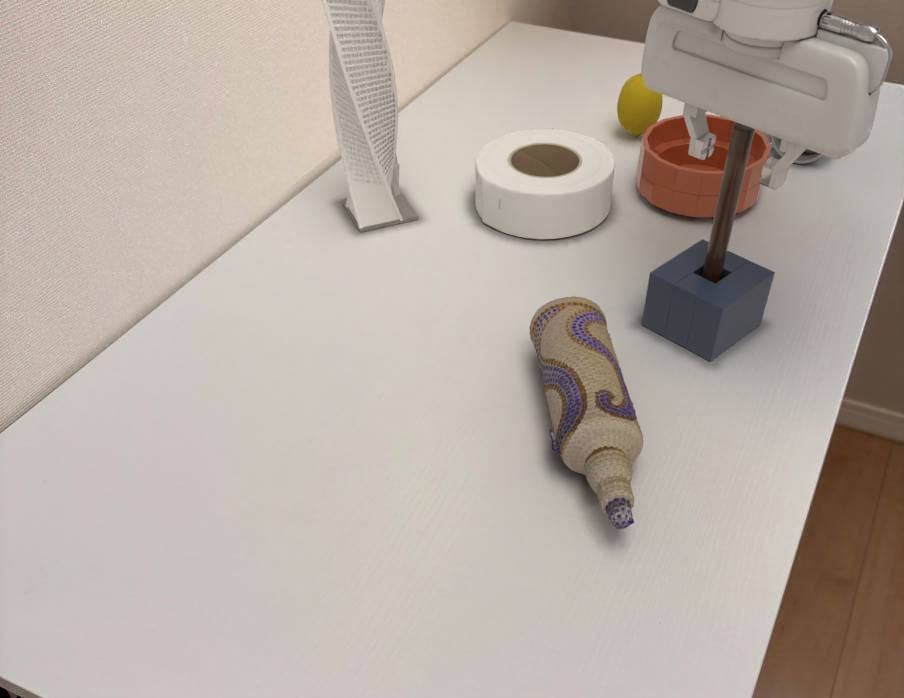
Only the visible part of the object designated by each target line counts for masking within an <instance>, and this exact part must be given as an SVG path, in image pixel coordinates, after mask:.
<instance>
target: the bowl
mask: <svg viewBox="0 0 904 698" xmlns="http://www.w3.org/2000/svg"><path fill="white" fill-rule="evenodd" d="M705 114H706V119H707V124H708V129H709V133H712V134H714V135H716V140H715V143H714V144H713V146H714V150H713V153H712V155H711V156H710V157H708V158H705V160H701V159H698V158H695V157H693V156H691V155H689V154H688V151H689V145H690V139H691V136H690V135H689V132H688V129H687V126H686V122H685V119H684V116H683V114H681V115H675V116H671V117H665V118H662V119H660V120H658V121H657V123H655V124H653V125H651V126H649V127H648V129H647V130H646V132H645V133H643V135H642V136H641V139H640V140H641V141H640V148H639V156H638V162H637V170H636V177H635V181H636V186H637V190H638V193H639V194H640V195H641V196H642V197H643V198H644V199H646V200H647V202H648V203H650V204H651V205H653V206H654V207H655V206H656V207H658V208H659V209H663V210H664V211H667V212H669V213H671V214H677V215H681V216H686V217H691V218H704V219H705V218H706V219H707V218H714V215H715V210H716V206H717V201H718V196H719V191H720V187H721V182H722V177H723V172H724V167H725V163H726V158H727V153H728V148H729V144H730V139H731V134H732V129H733V125H734V124H735V123H737V122H735V121H732V120H729V119H727V118H724V117H721V116H719V115H716V114H707V113H705ZM771 145H772V144H770V143H769V141H768V138H767V137H766V136H765V135H764V134H763V133H761V132H760V131H758V130H756V129H755V131H754V136H753V140H752V144H751V149H750V153H749V157H748V162H747V166H746V171H745V175H744V179H743V184H742V188H741V192H740V197H739V201H738V206H737V210H736V214H739V213H743V212H744V211H746V210H747V209H749V208H750V207H753V206H754V205H756V204H757V203H758V200H759V197H760V196H761V193H762V190H763V186H764V185H762V184H760V183H759V180H760V178H761V177H762V174H761V172H762V168H763V165H765V164H767V163H770V157H771V153H772V149H773V148H772V146H771Z"/></svg>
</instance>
